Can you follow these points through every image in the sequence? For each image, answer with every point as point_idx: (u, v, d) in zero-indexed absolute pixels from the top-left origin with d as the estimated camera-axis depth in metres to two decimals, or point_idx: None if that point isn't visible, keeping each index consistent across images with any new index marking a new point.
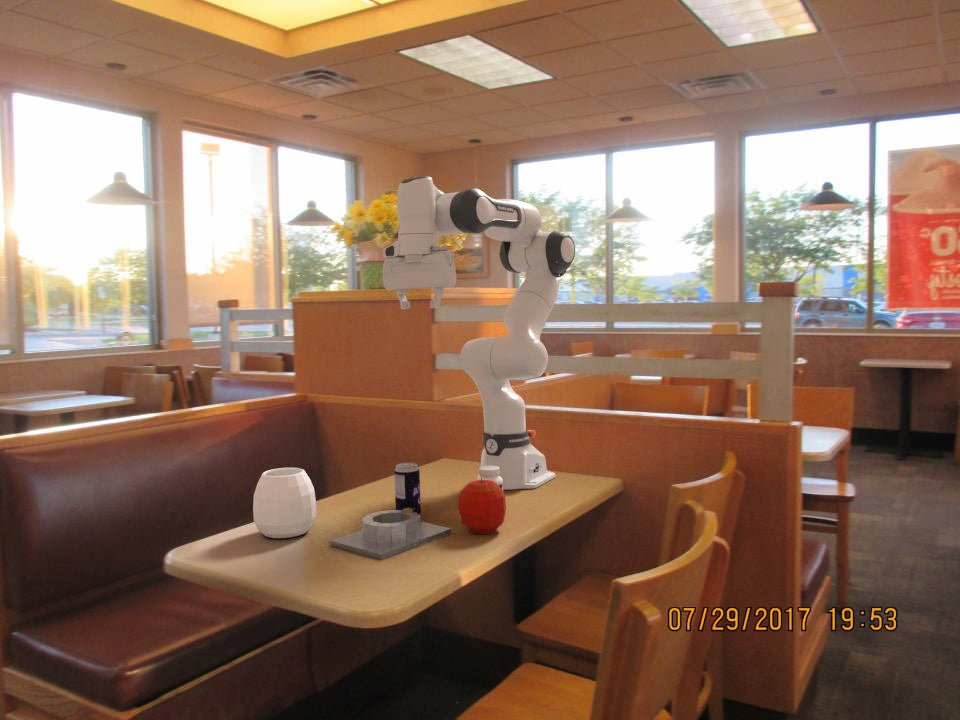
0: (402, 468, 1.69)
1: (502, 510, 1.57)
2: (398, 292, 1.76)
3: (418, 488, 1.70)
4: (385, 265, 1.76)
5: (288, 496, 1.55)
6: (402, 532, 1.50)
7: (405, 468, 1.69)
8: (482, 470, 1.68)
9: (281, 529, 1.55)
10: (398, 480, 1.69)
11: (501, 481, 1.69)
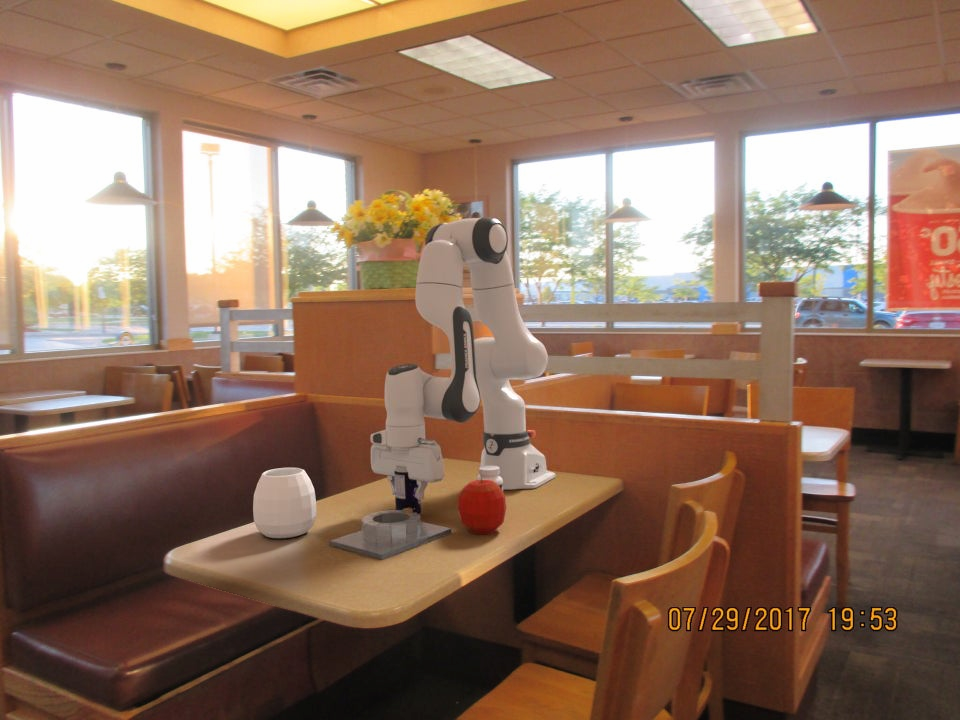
0: (402, 468, 1.69)
1: (502, 510, 1.57)
2: (389, 478, 1.73)
3: None
4: (373, 450, 1.74)
5: (288, 496, 1.55)
6: (402, 532, 1.50)
7: (405, 468, 1.69)
8: (482, 470, 1.68)
9: (281, 529, 1.55)
10: (398, 480, 1.69)
11: (501, 481, 1.69)
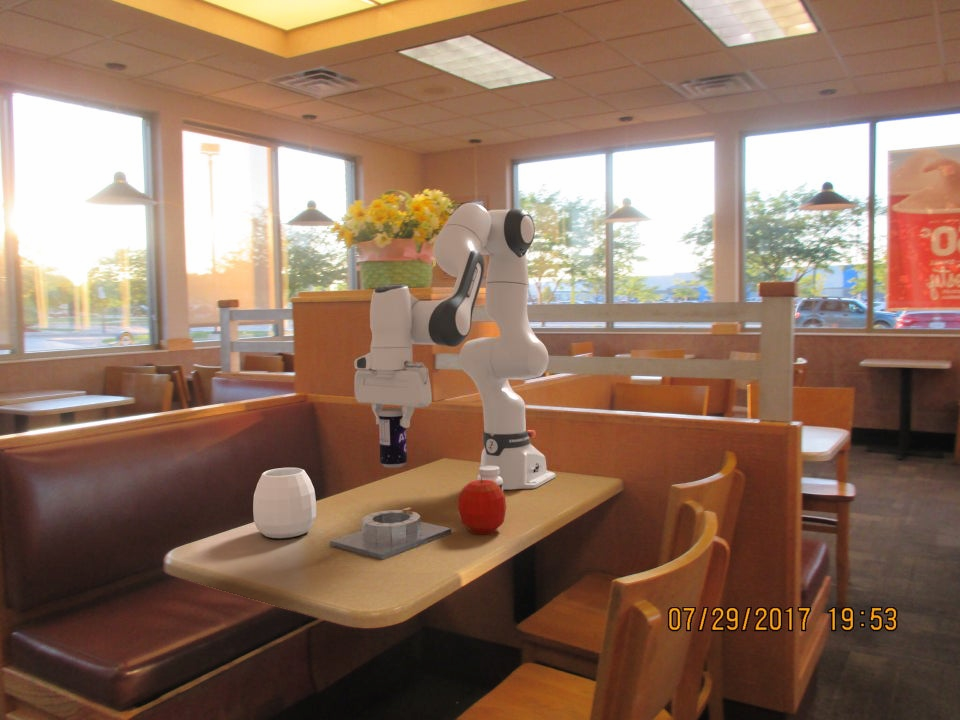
0: (387, 412, 1.58)
1: (502, 510, 1.57)
2: (374, 406, 1.62)
3: (404, 434, 1.59)
4: (357, 376, 1.63)
5: (288, 496, 1.55)
6: (402, 532, 1.50)
7: (390, 412, 1.58)
8: (482, 470, 1.68)
9: (281, 529, 1.55)
10: (383, 425, 1.58)
11: (501, 481, 1.69)
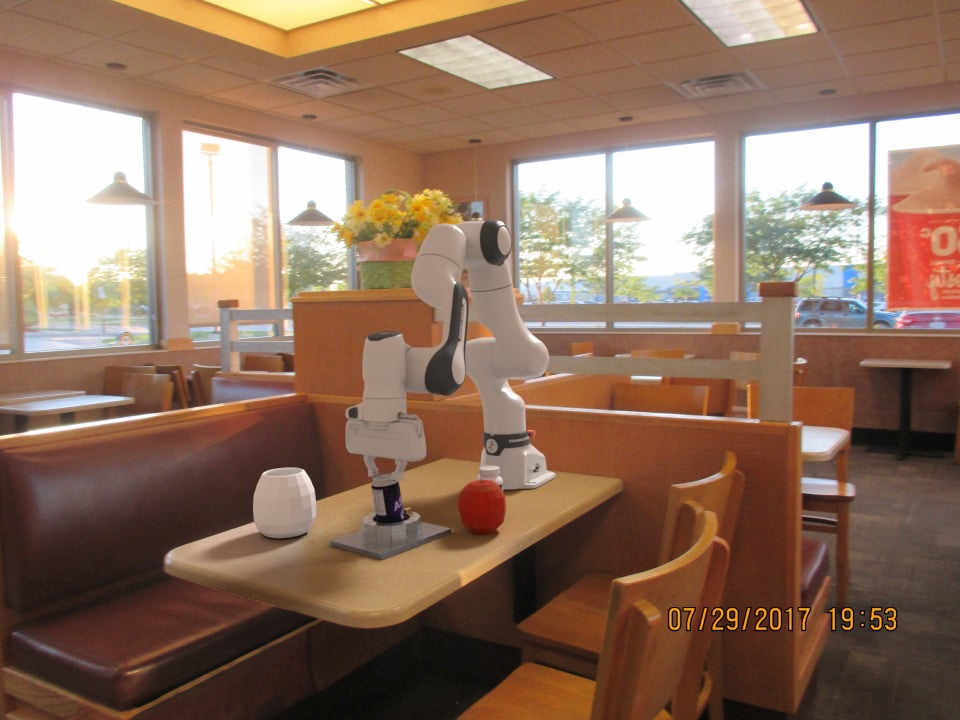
0: (379, 482, 1.51)
1: (502, 510, 1.57)
2: (366, 458, 1.55)
3: (399, 501, 1.53)
4: (348, 426, 1.57)
5: (288, 496, 1.55)
6: (402, 532, 1.50)
7: (382, 481, 1.51)
8: (482, 470, 1.68)
9: (281, 529, 1.55)
10: (376, 495, 1.52)
11: (501, 481, 1.69)
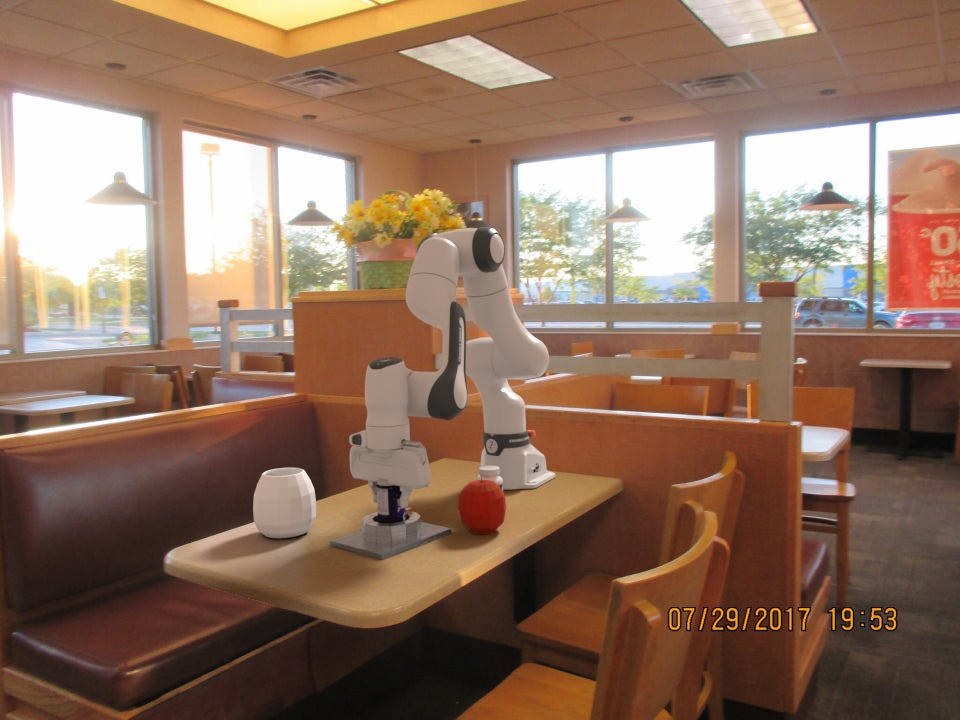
0: (385, 481, 1.52)
1: (502, 510, 1.57)
2: (370, 483, 1.57)
3: None
4: (352, 452, 1.57)
5: (288, 496, 1.55)
6: (402, 532, 1.50)
7: None
8: (482, 470, 1.68)
9: (281, 529, 1.55)
10: (381, 494, 1.52)
11: (501, 481, 1.69)
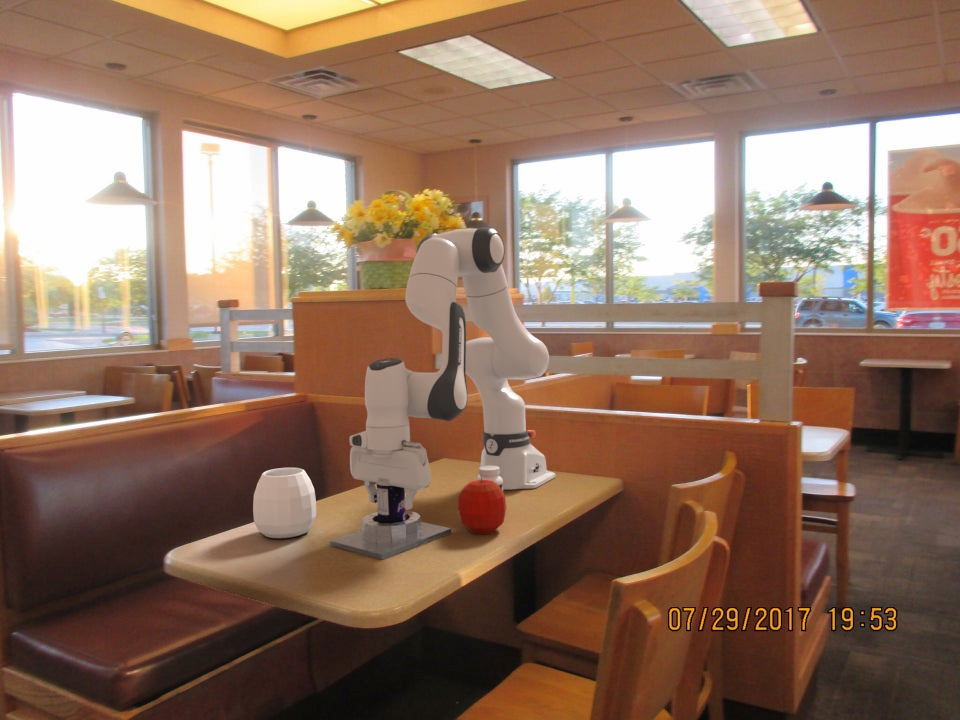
0: (385, 481, 1.52)
1: (502, 510, 1.57)
2: (367, 483, 1.57)
3: None
4: (352, 453, 1.58)
5: (288, 496, 1.55)
6: (402, 532, 1.50)
7: (388, 481, 1.52)
8: (482, 470, 1.68)
9: (281, 529, 1.55)
10: (381, 494, 1.52)
11: (501, 481, 1.69)
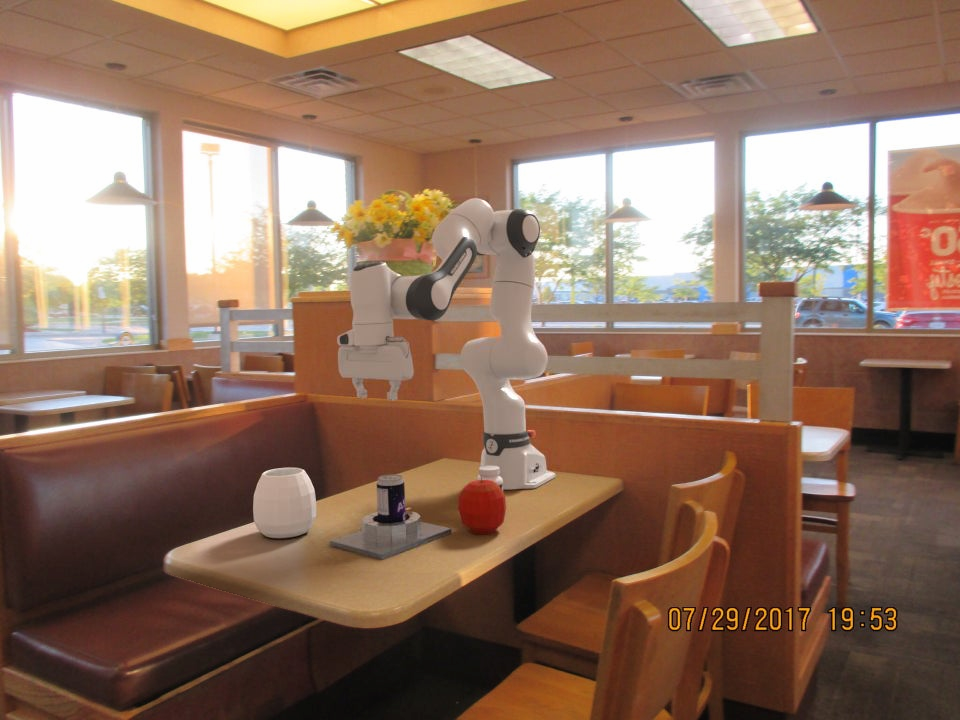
0: (385, 481, 1.52)
1: (502, 510, 1.57)
2: (354, 380, 1.68)
3: (403, 503, 1.54)
4: (340, 352, 1.68)
5: (288, 496, 1.55)
6: (402, 532, 1.50)
7: (388, 481, 1.52)
8: (482, 470, 1.68)
9: (281, 529, 1.55)
10: (381, 494, 1.52)
11: (501, 481, 1.69)
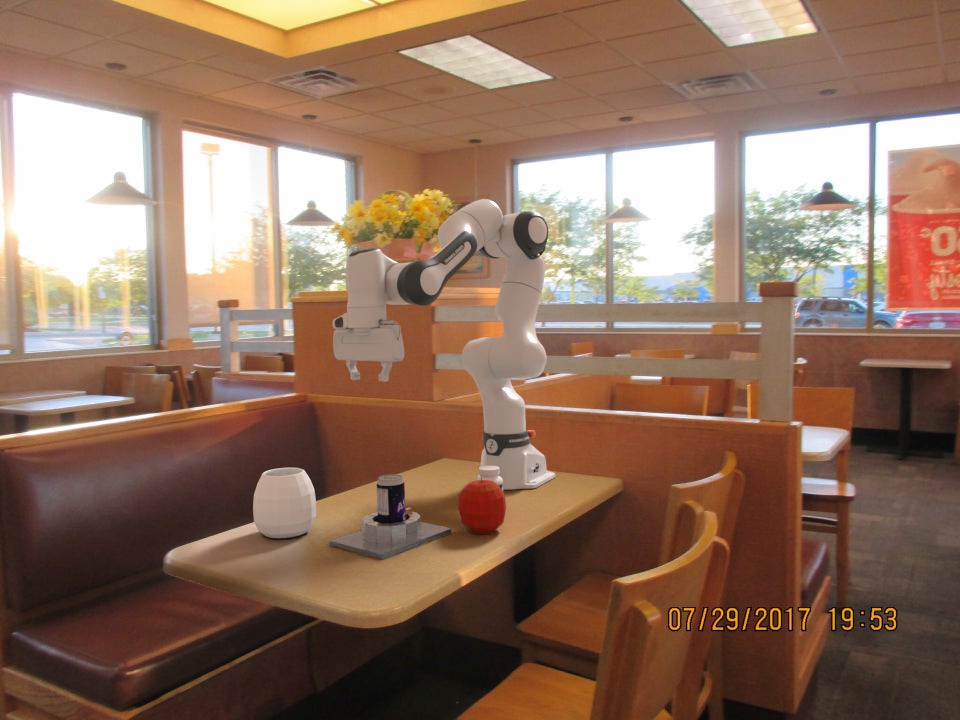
0: (385, 481, 1.52)
1: (502, 510, 1.57)
2: (348, 363, 1.75)
3: (403, 503, 1.54)
4: (335, 335, 1.75)
5: (288, 496, 1.55)
6: (402, 532, 1.50)
7: (388, 481, 1.52)
8: (482, 470, 1.68)
9: (281, 529, 1.55)
10: (381, 494, 1.52)
11: (501, 481, 1.69)
